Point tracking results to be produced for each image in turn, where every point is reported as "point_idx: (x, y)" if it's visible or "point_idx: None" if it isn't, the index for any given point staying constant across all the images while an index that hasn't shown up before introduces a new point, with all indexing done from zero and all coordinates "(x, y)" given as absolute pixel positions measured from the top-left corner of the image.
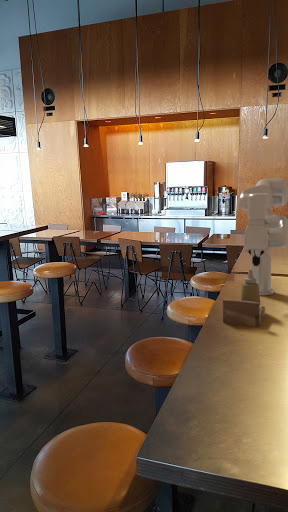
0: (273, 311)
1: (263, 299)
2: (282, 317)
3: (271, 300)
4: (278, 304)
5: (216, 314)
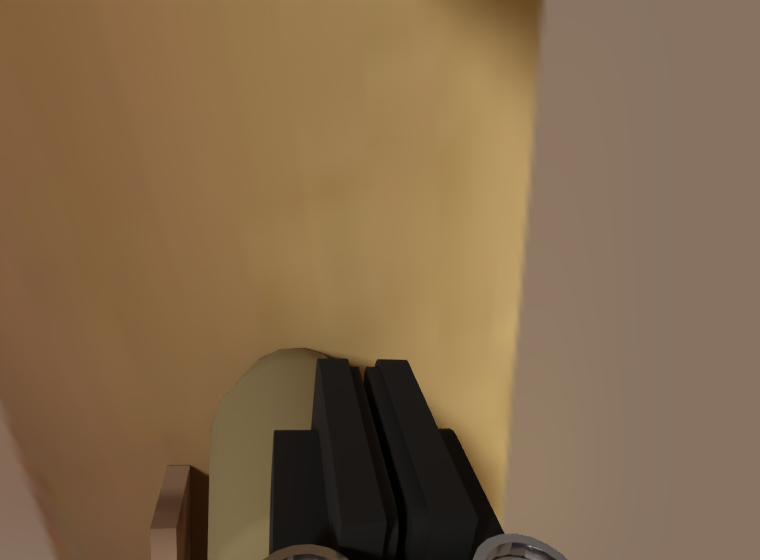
0: (452, 330)
1: (357, 5)
2: (504, 421)
3: (435, 25)
4: (493, 144)
5: (72, 514)
